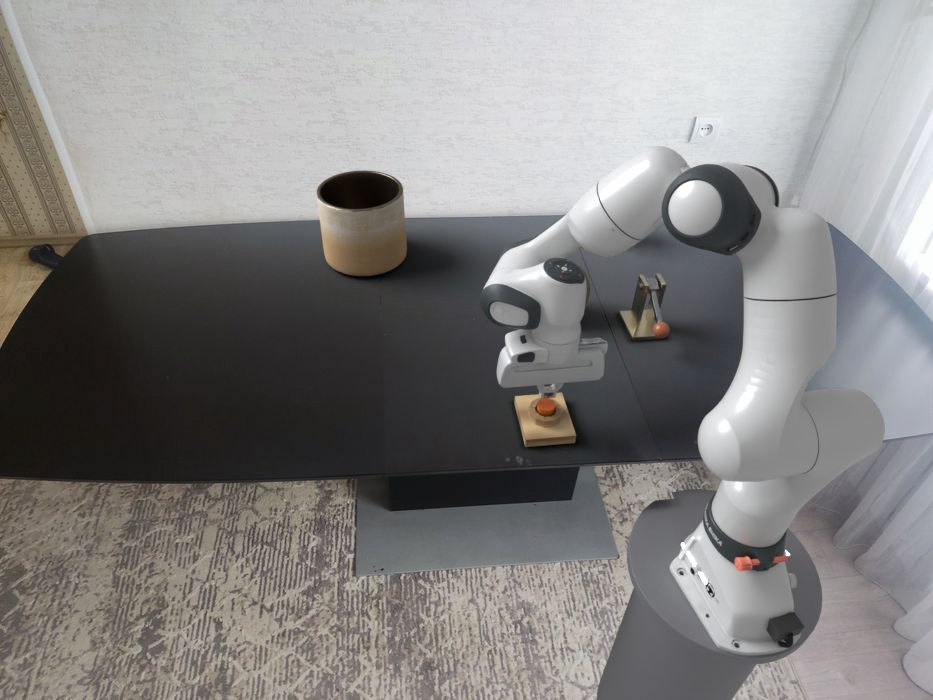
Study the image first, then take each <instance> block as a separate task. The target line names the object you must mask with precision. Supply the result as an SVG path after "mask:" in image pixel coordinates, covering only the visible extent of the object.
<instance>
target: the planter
mask: <svg viewBox="0 0 933 700" xmlns="http://www.w3.org/2000/svg"><path fill="white" fill-rule="evenodd" d="M404 196H405V195H404V187H403V184H402V183H401V181H400V180H399V179H397V177H394V176H393V175H391V174H388V173H385V172H381V171H377V170H364V169H362V170H361V169H360V170H350V171H344V172H340V173H337V174H334V175H332V176H330V177H328V178H326V179H324V180H323V181H321V183H320V184H319V185H318V187H317V188H316V199H317V200H316V202H317V209H318V217H319V225H320V232H321V239H322V240H321V241H322V248H323V254H324V258H325V261H326V263H327V264H328V265H329V267H331V268H332V269H333V270H335V271H336V272H339V273H342V274H344V275H347V276H353V277H374V276H379V275H383V274H385V273H388V272H390V271H392V270H394V269H396V268H397V267H399V266H400V265H401V264H402V263H403V262H404V261H405V258H406V257H407V253H408V243H407V227H406V214H405V200H404V199H405V197H404Z"/></svg>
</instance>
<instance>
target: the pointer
mask: <svg viewBox="0 0 933 700" xmlns="http://www.w3.org/2000/svg"><path fill="white" fill-rule="evenodd" d="M646 280H647V282H648V284H649V290H648V294H647V295H649V298H650V297H651V301H652V306H653V310H654V315H655V319H656V324H655V325H654V327H653V333H654V335H655V336H656V337H658V338H664V339H665V338H667V337H668V336H669V334H670V331H671V329H670V326H669V324H667V323H666V322H664V321H663V317H662V312H661V308H659V304H658V299H657V295H656V292H657V290H658V289H659V287H658V283H657V279H656V278H655V277H649V278H646Z"/></svg>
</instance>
